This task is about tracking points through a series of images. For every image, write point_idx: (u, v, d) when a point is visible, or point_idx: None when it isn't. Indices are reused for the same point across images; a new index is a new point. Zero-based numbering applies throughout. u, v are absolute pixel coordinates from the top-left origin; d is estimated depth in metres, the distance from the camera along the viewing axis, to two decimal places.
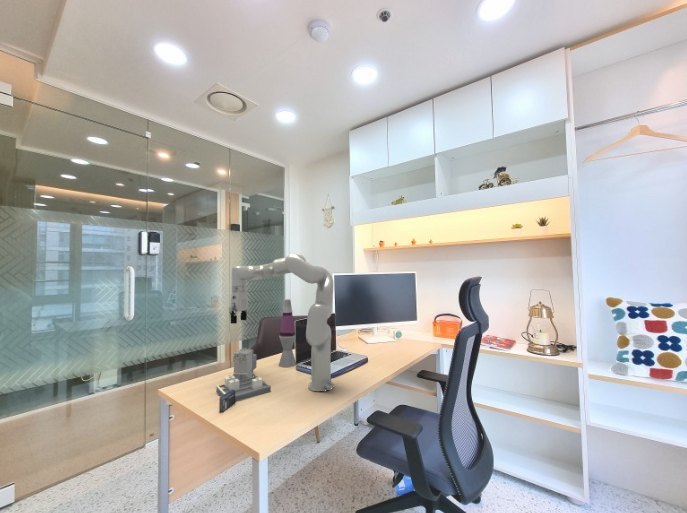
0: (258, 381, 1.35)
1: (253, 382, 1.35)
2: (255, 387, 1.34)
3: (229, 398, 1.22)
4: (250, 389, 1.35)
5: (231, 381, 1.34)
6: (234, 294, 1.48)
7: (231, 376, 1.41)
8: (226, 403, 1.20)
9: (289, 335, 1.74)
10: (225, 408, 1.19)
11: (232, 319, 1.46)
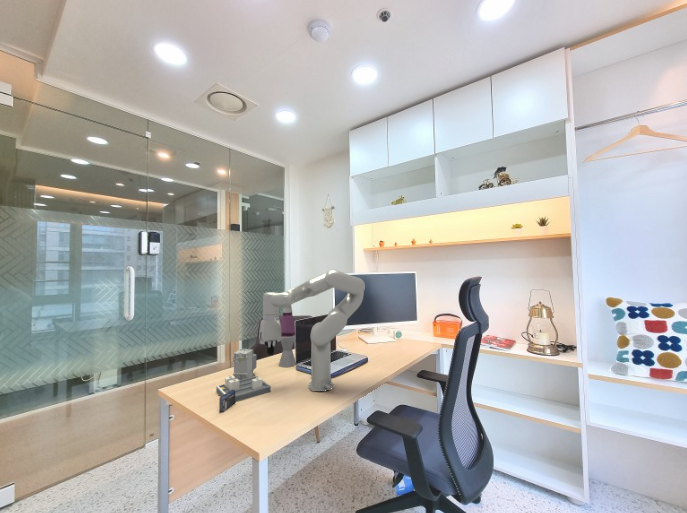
0: (258, 381, 1.35)
1: (253, 382, 1.35)
2: (255, 387, 1.34)
3: (229, 398, 1.22)
4: (250, 389, 1.35)
5: (231, 381, 1.34)
6: None
7: (231, 376, 1.41)
8: (226, 403, 1.20)
9: (289, 335, 1.74)
10: (225, 408, 1.19)
11: None
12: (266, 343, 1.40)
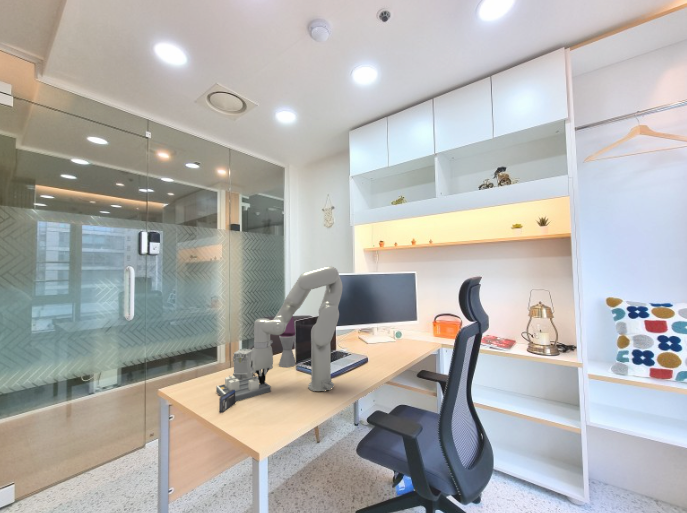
0: (255, 382, 1.34)
1: (250, 383, 1.34)
2: (252, 388, 1.33)
3: (229, 398, 1.22)
4: None
5: (231, 381, 1.34)
6: None
7: (231, 376, 1.41)
8: (226, 403, 1.20)
9: (289, 335, 1.74)
10: (225, 408, 1.19)
11: None
12: (257, 372, 1.36)
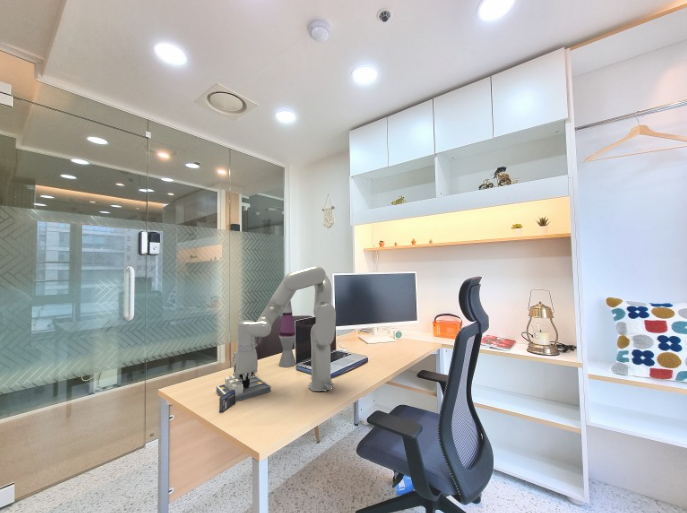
0: (238, 386, 1.29)
1: (233, 387, 1.29)
2: (235, 393, 1.28)
3: (229, 398, 1.22)
4: (250, 389, 1.35)
5: (231, 381, 1.34)
6: None
7: (231, 376, 1.41)
8: (226, 403, 1.20)
9: (289, 335, 1.74)
10: (225, 408, 1.19)
11: None
12: (241, 376, 1.31)
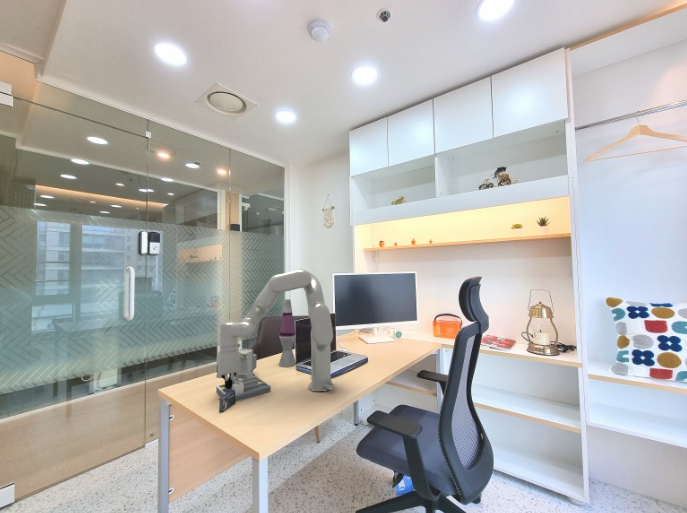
0: (239, 386, 1.30)
1: (234, 387, 1.29)
2: (236, 392, 1.29)
3: (229, 398, 1.22)
4: (250, 389, 1.35)
5: (234, 380, 1.35)
6: None
7: None
8: (226, 403, 1.20)
9: (289, 335, 1.74)
10: (225, 408, 1.19)
11: None
12: (223, 376, 1.31)
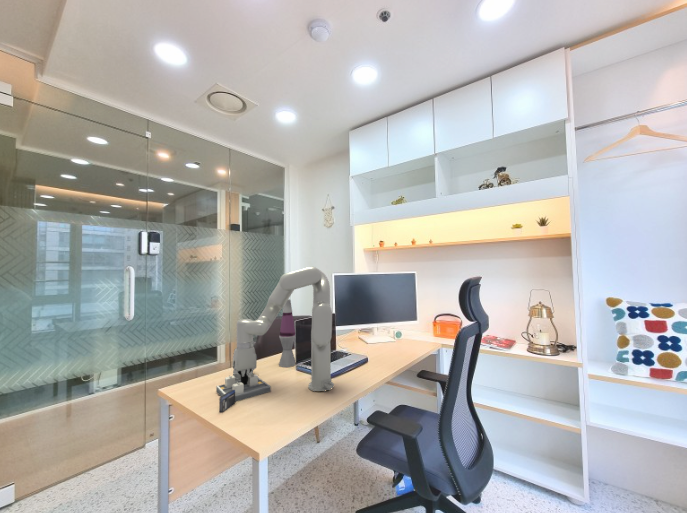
0: (239, 386, 1.30)
1: (234, 387, 1.29)
2: (236, 392, 1.29)
3: (229, 398, 1.22)
4: (250, 389, 1.35)
5: (250, 376, 1.40)
6: None
7: (231, 376, 1.41)
8: (226, 403, 1.20)
9: (289, 335, 1.74)
10: (225, 408, 1.19)
11: None
12: (240, 372, 1.36)
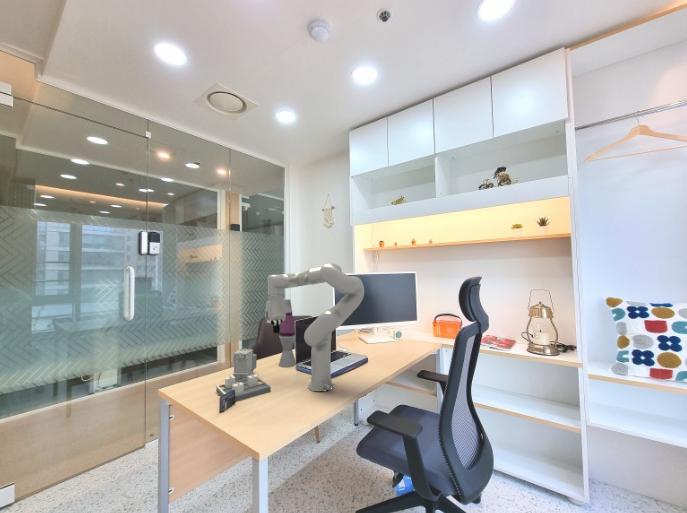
0: (239, 386, 1.30)
1: (234, 387, 1.29)
2: (236, 392, 1.29)
3: (229, 398, 1.22)
4: (250, 389, 1.35)
5: (250, 376, 1.40)
6: None
7: (231, 376, 1.41)
8: (226, 403, 1.20)
9: (289, 335, 1.74)
10: (225, 408, 1.19)
11: None
12: (272, 322, 1.49)
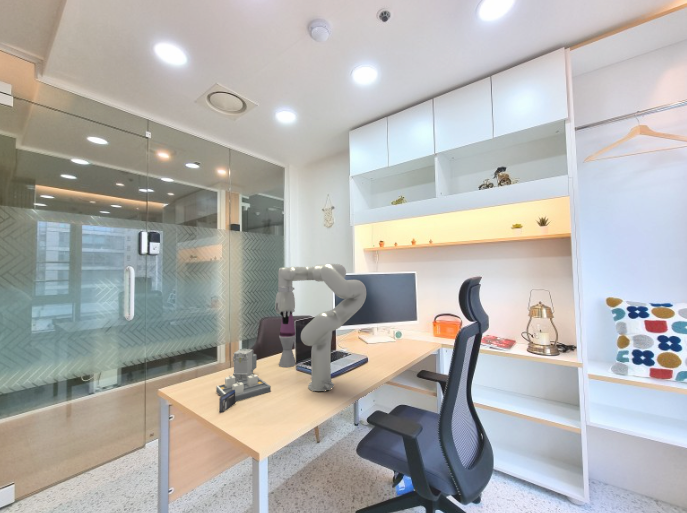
0: (239, 386, 1.30)
1: (234, 387, 1.29)
2: (236, 392, 1.29)
3: (229, 398, 1.22)
4: (250, 389, 1.35)
5: (250, 376, 1.40)
6: None
7: (231, 376, 1.41)
8: (226, 403, 1.20)
9: (289, 335, 1.74)
10: (225, 408, 1.19)
11: None
12: (282, 313, 1.54)
